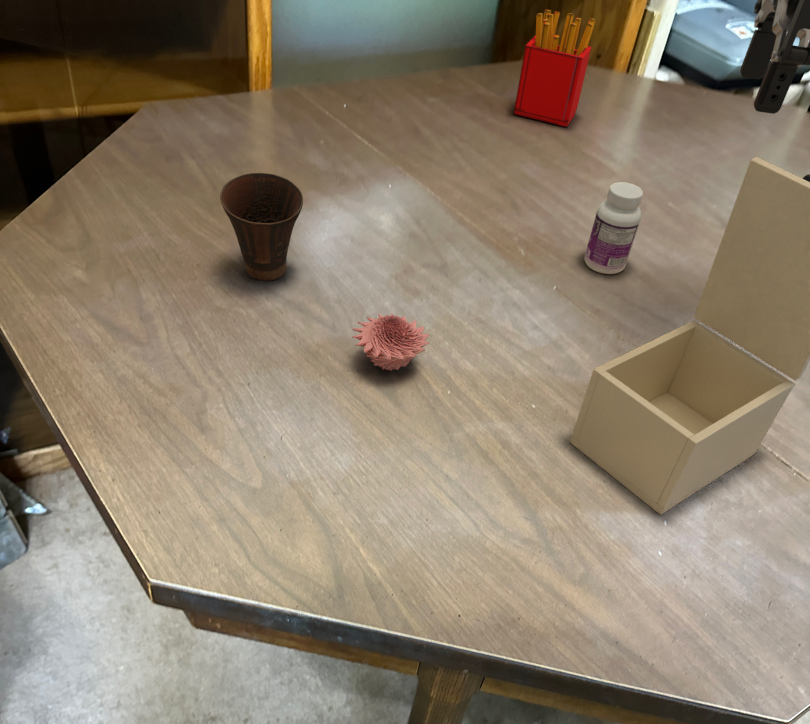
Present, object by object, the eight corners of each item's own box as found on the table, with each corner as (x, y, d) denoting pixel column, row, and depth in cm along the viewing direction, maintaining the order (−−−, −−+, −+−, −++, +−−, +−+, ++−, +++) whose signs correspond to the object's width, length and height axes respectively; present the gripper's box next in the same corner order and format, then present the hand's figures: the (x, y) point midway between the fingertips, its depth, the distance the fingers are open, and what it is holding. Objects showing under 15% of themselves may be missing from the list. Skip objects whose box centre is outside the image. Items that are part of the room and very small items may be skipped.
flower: (440, 376, 80) (446, 331, 76) (372, 396, 77) (375, 350, 73) (403, 335, 85) (407, 290, 80) (337, 352, 82) (338, 306, 77)
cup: (249, 305, 86) (241, 219, 78) (215, 266, 90) (205, 181, 83) (318, 286, 89) (318, 202, 82) (282, 249, 94) (279, 166, 86)
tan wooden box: (660, 515, 70) (696, 443, 63) (569, 442, 75) (593, 368, 69) (754, 454, 76) (795, 383, 70) (664, 391, 82) (694, 319, 75)
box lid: (880, 222, 57) (921, 197, 59) (750, 159, 62) (792, 138, 64) (795, 381, 69) (831, 356, 71) (693, 317, 75) (729, 295, 77)
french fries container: (524, 101, 131) (542, 5, 120) (576, 114, 129) (598, 17, 119) (512, 116, 127) (529, 17, 116) (566, 129, 125) (588, 29, 114)
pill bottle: (588, 249, 100) (609, 174, 93) (628, 260, 99) (652, 185, 92) (578, 268, 97) (599, 193, 89) (620, 280, 96) (644, 204, 88)
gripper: (927, -116, 53) (813, 130, 66) (876, -149, 62) (784, 72, 75) (819, -130, 53) (725, 117, 66) (783, -162, 63) (707, 61, 75)
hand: (757, 93), depth 70 cm, fingers open, 8 cm apart
